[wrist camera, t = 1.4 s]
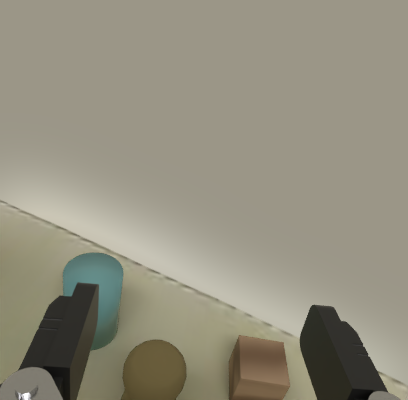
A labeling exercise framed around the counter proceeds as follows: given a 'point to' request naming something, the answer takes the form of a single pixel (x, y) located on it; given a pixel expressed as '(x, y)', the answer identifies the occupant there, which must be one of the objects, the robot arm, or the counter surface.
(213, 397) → the counter surface
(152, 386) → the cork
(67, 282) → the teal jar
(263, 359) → the walnut block
